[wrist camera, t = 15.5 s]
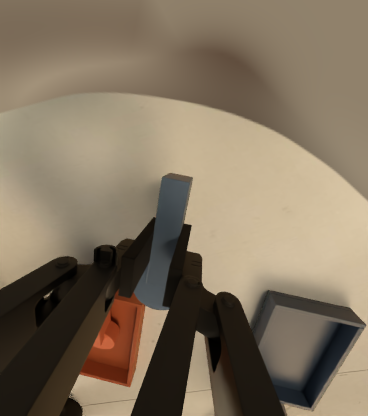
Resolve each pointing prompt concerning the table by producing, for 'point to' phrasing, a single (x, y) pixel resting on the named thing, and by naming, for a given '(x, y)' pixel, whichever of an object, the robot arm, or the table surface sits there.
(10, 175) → the table surface
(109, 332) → the terracotta spoon
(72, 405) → the mug
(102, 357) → the terracotta tray
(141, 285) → the blue spoon
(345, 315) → the blue tray
